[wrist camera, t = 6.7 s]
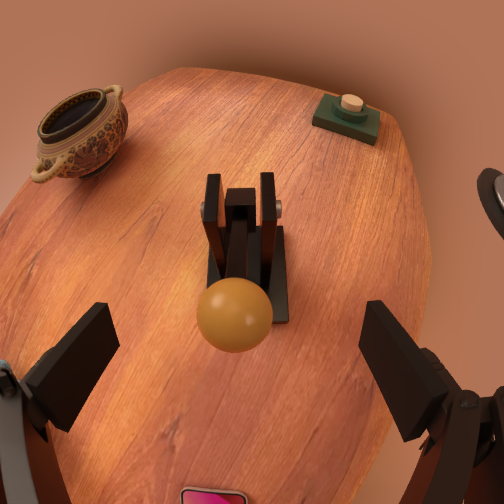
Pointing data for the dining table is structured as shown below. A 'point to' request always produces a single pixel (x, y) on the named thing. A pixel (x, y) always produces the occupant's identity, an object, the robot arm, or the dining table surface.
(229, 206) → the lever
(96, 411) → the dining table surface
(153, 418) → the dining table surface
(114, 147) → the ceramic bowl
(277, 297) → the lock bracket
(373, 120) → the green button base
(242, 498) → the smartphone
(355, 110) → the bell button
